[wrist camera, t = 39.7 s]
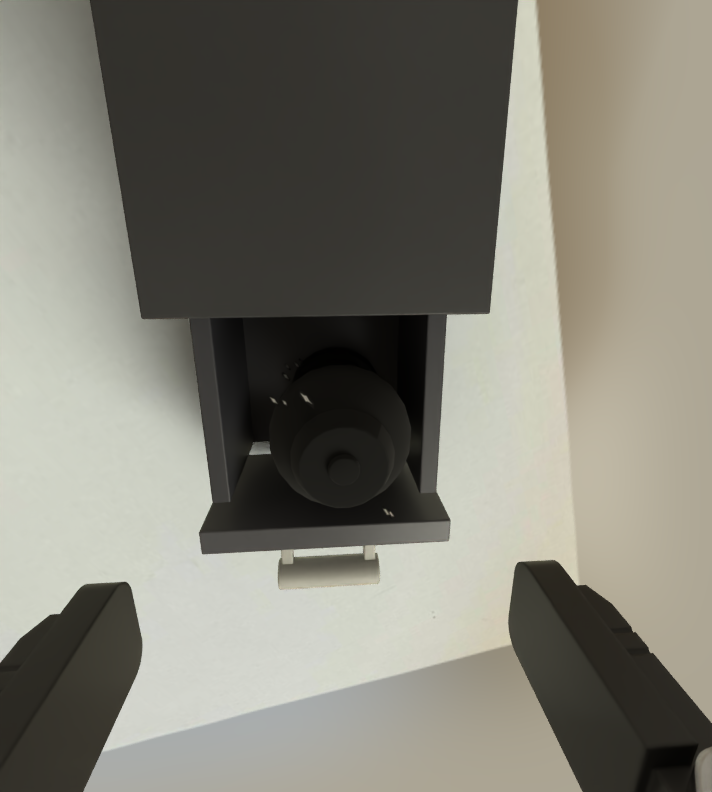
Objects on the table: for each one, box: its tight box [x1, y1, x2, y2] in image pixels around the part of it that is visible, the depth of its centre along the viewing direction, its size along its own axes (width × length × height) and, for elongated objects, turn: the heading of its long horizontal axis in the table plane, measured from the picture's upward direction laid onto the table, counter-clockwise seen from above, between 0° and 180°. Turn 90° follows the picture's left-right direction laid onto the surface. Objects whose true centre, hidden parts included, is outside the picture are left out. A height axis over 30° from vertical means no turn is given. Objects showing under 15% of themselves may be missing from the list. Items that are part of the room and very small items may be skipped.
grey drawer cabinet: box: [90, 0, 518, 319], centre depth 17 cm, size 16×13×10 cm
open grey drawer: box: [189, 315, 450, 590], centre depth 21 cm, size 19×11×8 cm, turn 0°
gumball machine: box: [269, 348, 411, 519], centre depth 19 cm, size 7×6×10 cm
